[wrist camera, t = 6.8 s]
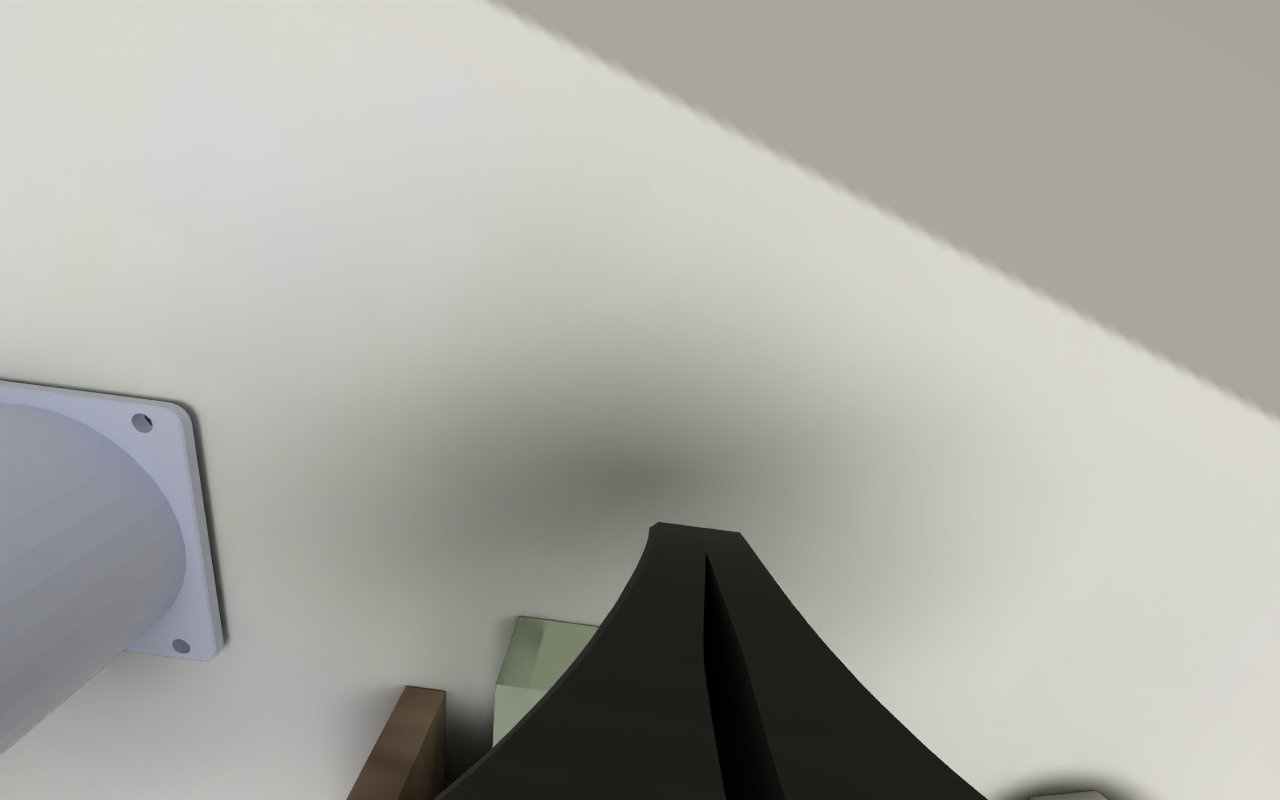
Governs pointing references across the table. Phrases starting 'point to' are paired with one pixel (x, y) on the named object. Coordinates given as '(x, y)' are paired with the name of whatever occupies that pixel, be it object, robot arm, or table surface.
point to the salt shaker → (1072, 796)
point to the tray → (534, 667)
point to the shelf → (407, 751)
